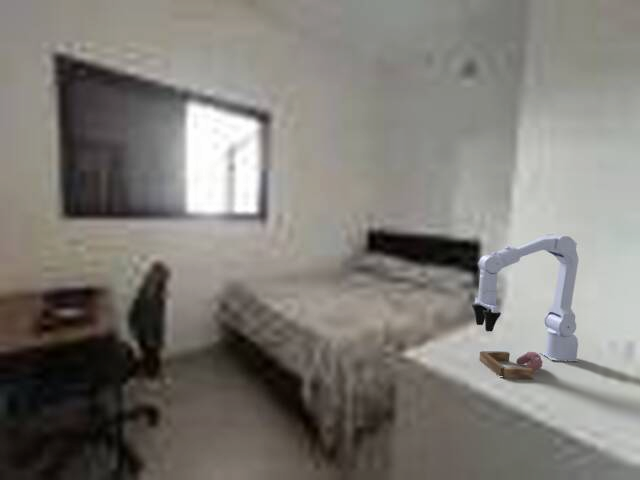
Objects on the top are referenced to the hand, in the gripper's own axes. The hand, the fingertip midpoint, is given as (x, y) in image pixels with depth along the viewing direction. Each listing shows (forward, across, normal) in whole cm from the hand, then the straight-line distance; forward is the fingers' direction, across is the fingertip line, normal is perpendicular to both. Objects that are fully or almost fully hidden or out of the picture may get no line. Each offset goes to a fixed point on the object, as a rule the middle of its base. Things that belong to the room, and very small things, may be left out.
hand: (484, 327), depth 152 cm
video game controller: (+10, +12, +11) cm, 19 cm away
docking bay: (+10, +12, +2) cm, 16 cm away
